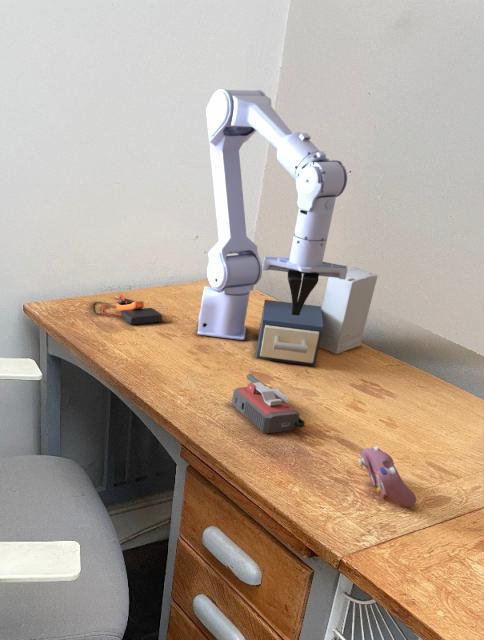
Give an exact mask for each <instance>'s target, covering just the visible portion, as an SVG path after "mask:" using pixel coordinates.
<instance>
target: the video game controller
mask: <svg viewBox="0 0 484 640" xmlns="http://www.w3.org/2000/svg"><path fill="white" fill-rule="evenodd" d="M359 453H360V454H359V455H360V457H361V459H360V458H358V464H359V466H360V468H364V467H365V469H366V472H367V473H368V476H369V479H370V481H371V483H372V485H373V486H374V487H376V493H377V494H379V495H380V497H381V498H383V499H384V498H387V497H388V498H389V499H390V500H391V501H393V503H395V504H397V505H398V506H401V507H404V508H412V507H413V506H414V505H415V504H416V502H417V496H416V494H415V493H414V491H413V490H411V488H410V487H408V486H407V485H406V484H405V482H404V481H403V479H402V477H401V475H400V473H399V470H398V469H397V468H396V466H395V462H394V460H393V458H392V456H391V455H390V454H389V453H387V452H385V451H383V450H382V449H380V448H379V446H378V445H376V446H374V447H367V448H365V449H362V450H360V451H359Z"/></svg>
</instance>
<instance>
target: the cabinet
mask: <svg viewBox="0 0 484 640" xmlns="http://www.w3.org/2000/svg"><path fill="white" fill-rule="evenodd" d="M321 310H322V305H321V306H320V305H313V304H305V303H304V305H303V307H302V309H301V312H300V315H299V316H298V315H292V302H289V301H279V300H271V299H264V301H263V307H262V313H261V320H260V325H259V331H258V335H257V336H258V337H257V347H256V355H255V356H256V357H255V358H256V359H261V360H269V361H276V362H282V363H283V362H285V363H290V364H291V363H292V364H298V365H306V366H313V367H315V366H316V362H317V358H318V353H319V349H320V347H319V345H320V340H321V336H322V331H323V320H322V311H321ZM267 324H268V325H276V326H284V327H292V328H300V329H308V330H315V331H318V332H319V337H318V342H317V346H316V351H315V355H314V360H313V363H308V362H300V361H292V360H285V359H277V358H269V357H262V356H260V352H261V347H262V341H263V335H264V330H265V325H267Z"/></svg>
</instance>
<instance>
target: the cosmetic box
mask: <svg viewBox="0 0 484 640" xmlns="http://www.w3.org/2000/svg"><path fill="white" fill-rule="evenodd" d="M378 277H379V276H378V274H375V273H373V272H370V271H368V270H365V269H361V268H359V267H355V266H353V267H350V268H348V270H347V274H346V279H345V280H343V279H339V278H335V277H327V278H328V279H327V283H326V287H325V293H324V297H323V301H322V305H321V311H322V320H323V331H322V336H321V340H320V345H319V348H321V349H323V350H325V351H328V352H330V353H333V354H335V355H338V354H341V353H343V352H345V351H348V350H351V349H354V348H357V347H360V346H361V343H362V340H363V335H364V331H365V328H366V324H367V319H368V316H369V311H370V307H371V304H372V299H373V296H374V292H375V286H376V284H377V279H378Z"/></svg>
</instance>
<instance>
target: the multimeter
mask: <svg viewBox="0 0 484 640" xmlns="http://www.w3.org/2000/svg"><path fill="white" fill-rule="evenodd" d="M114 297H116V298H118V299H121V300H120V301H116V302H112V303H108V302H105V304H106V305H104V306H103V307H101V312H100V313H99V312H96V311H95V309H94V308H92V312H93V313H94V314H96V315H109V316H116V317H120V318H121V319H122V320H123V321H125V322H127V324H130V325H141V324H149V323H159V322H162V319H163V314H162V313H161V312H159V311H158V310H156V309H155V308H153V307H145V303H144V301H141V300H139V301H134V300H132V299H128V298H124V297H123V295H122V294H119V296H114ZM96 303H97V304H104V302H101V301H95V302H94V303H92V306H94V305H95V304H96ZM115 304H116V310H117V311H118V312H120V314H116V313H115V314H114V313H110V312H104V308H105V307H107V306H112V305H115ZM144 307H145V308H144Z"/></svg>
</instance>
